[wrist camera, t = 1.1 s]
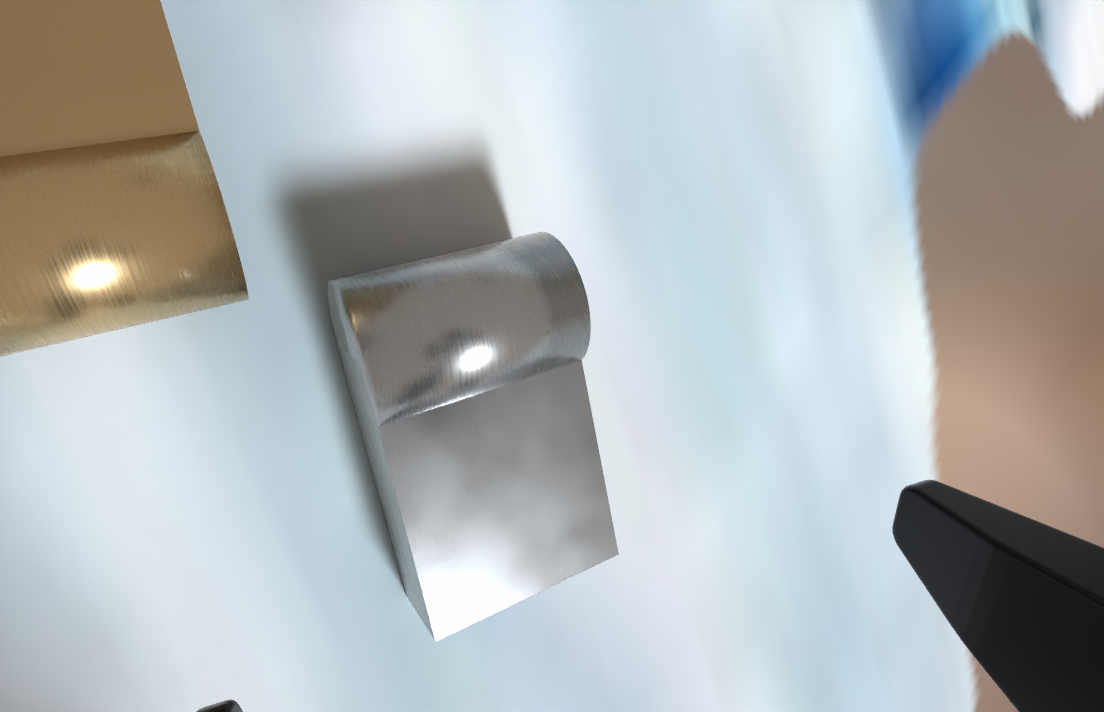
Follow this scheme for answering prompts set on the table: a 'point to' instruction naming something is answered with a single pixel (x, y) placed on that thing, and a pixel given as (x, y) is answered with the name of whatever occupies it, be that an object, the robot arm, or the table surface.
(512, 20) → the table surface
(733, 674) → the table surface
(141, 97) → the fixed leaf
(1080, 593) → the robot arm
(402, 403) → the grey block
